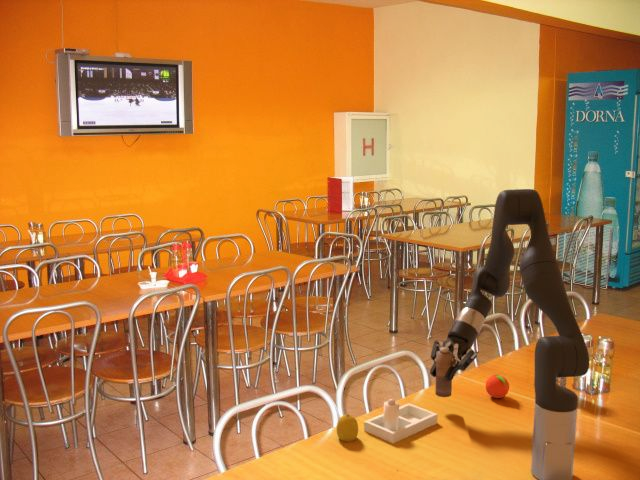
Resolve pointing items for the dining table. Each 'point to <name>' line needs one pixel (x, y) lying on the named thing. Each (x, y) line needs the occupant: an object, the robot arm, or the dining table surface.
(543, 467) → the robot arm
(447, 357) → the pepper mill
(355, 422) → the lemon
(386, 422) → the salt shaker
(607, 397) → the dining table surface
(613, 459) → the dining table surface
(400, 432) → the caddy
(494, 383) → the clementine
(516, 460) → the dining table surface
